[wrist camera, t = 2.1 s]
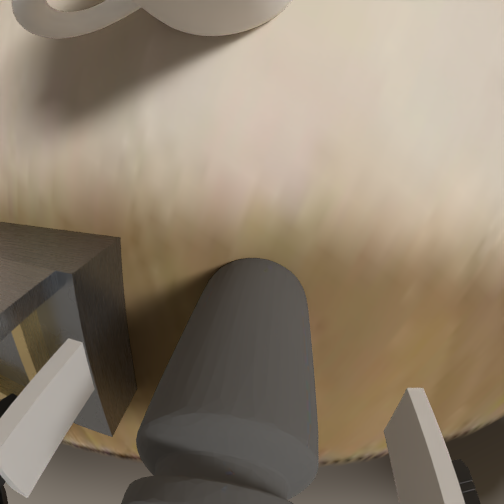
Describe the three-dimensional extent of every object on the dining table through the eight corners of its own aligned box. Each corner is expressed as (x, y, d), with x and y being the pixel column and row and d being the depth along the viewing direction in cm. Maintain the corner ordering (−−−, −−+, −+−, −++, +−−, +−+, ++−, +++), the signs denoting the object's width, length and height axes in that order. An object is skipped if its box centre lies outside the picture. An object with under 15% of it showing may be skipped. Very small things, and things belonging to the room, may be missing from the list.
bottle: (299, 248, 17) (315, 586, 3) (312, 340, 19) (323, 604, 5) (191, 265, 18) (37, 528, 4) (217, 350, 20) (147, 588, 6)
